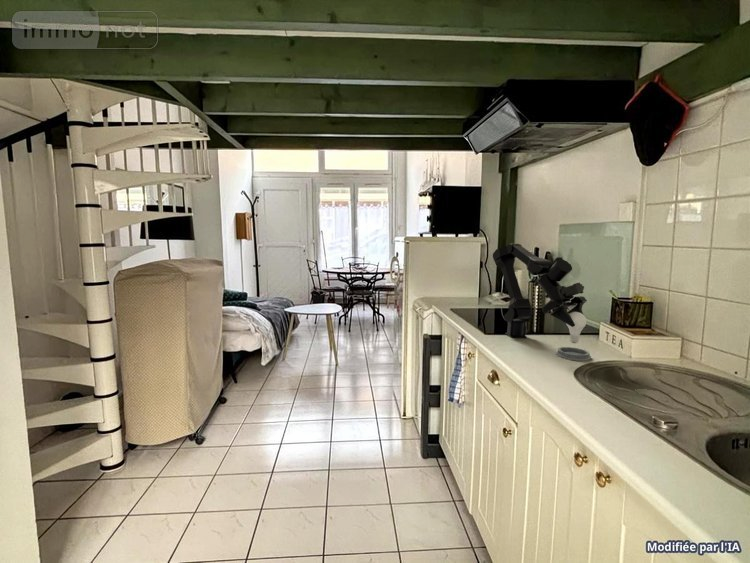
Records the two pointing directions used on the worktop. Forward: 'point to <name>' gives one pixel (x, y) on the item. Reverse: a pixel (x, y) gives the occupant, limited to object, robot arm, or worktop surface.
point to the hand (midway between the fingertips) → (579, 325)
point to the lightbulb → (576, 326)
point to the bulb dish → (573, 354)
